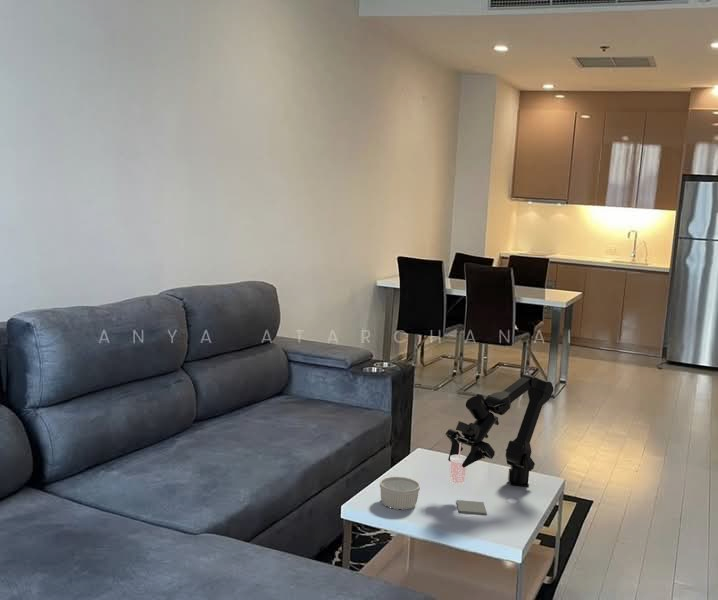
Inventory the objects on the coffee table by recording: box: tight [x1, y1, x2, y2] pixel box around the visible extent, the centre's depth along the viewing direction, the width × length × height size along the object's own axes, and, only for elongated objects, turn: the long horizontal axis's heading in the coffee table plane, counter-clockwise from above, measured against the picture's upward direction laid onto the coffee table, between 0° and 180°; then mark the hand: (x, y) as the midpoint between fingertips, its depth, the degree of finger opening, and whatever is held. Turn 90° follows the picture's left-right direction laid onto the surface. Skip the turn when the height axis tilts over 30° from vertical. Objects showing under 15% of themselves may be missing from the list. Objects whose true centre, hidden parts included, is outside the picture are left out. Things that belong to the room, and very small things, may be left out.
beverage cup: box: [449, 443, 468, 487], centre depth 245 cm, size 6×6×14 cm
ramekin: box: [379, 476, 421, 510], centre depth 241 cm, size 13×13×7 cm
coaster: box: [455, 499, 488, 516], centre depth 242 cm, size 9×9×1 cm
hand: (455, 463), depth 245 cm, fingers closed on beverage cup, 6 cm apart
